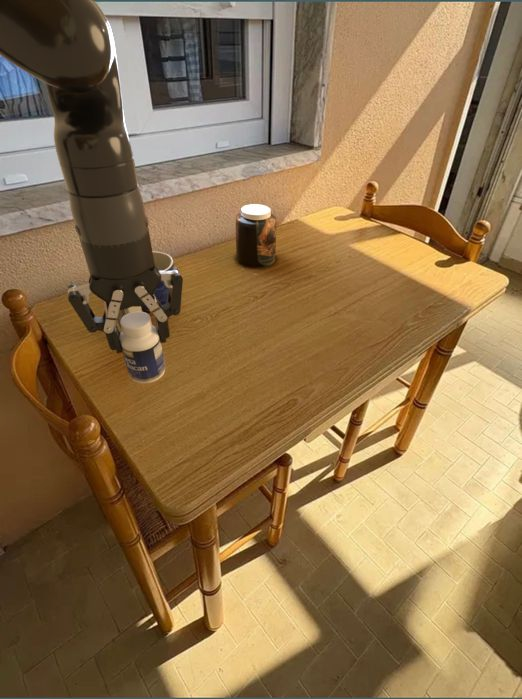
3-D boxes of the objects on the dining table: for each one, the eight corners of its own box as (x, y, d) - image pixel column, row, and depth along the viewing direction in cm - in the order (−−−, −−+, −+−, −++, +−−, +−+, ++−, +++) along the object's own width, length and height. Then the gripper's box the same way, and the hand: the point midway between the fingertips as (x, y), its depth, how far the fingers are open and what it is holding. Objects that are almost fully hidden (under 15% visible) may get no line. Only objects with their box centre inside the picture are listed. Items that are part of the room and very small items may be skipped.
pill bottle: (123, 383, 55) (107, 329, 49) (136, 358, 59) (123, 306, 53) (159, 386, 55) (148, 333, 48) (170, 361, 59) (161, 309, 53)
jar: (234, 267, 111) (232, 216, 101) (238, 249, 120) (236, 201, 110) (274, 268, 111) (276, 218, 101) (275, 250, 120) (277, 202, 110)
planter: (175, 315, 93) (168, 276, 85) (123, 315, 92) (113, 276, 85) (182, 288, 102) (176, 251, 95) (135, 288, 102) (126, 250, 95)
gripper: (170, 208, 47) (184, 319, 58) (43, 224, 43) (85, 340, 54) (184, 232, 42) (197, 348, 53) (42, 252, 38) (88, 374, 49)
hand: (140, 343), depth 53 cm, fingers closed on pill bottle, 5 cm apart
